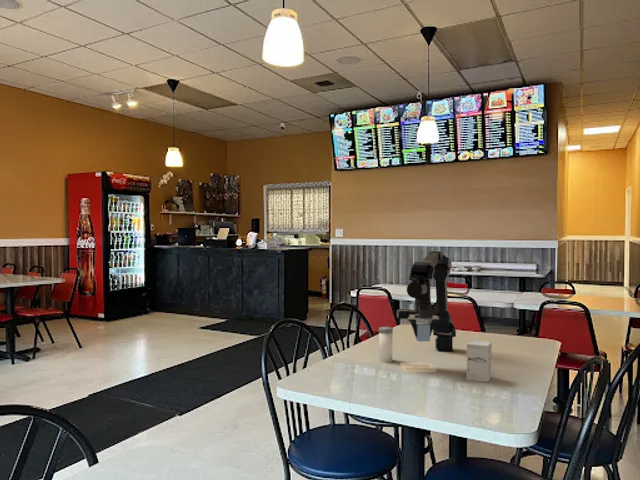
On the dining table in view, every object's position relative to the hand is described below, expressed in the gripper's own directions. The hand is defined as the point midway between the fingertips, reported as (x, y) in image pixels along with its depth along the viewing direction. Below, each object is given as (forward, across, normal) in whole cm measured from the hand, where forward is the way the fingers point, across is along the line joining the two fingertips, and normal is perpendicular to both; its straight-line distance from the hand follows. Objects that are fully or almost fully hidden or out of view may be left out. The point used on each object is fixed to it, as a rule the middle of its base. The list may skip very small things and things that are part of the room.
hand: (422, 337), depth 182 cm
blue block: (+1, 0, 0) cm, 1 cm away
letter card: (+12, -2, 0) cm, 12 cm away
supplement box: (+12, +17, -13) cm, 25 cm away
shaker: (+11, -13, +10) cm, 20 cm away
